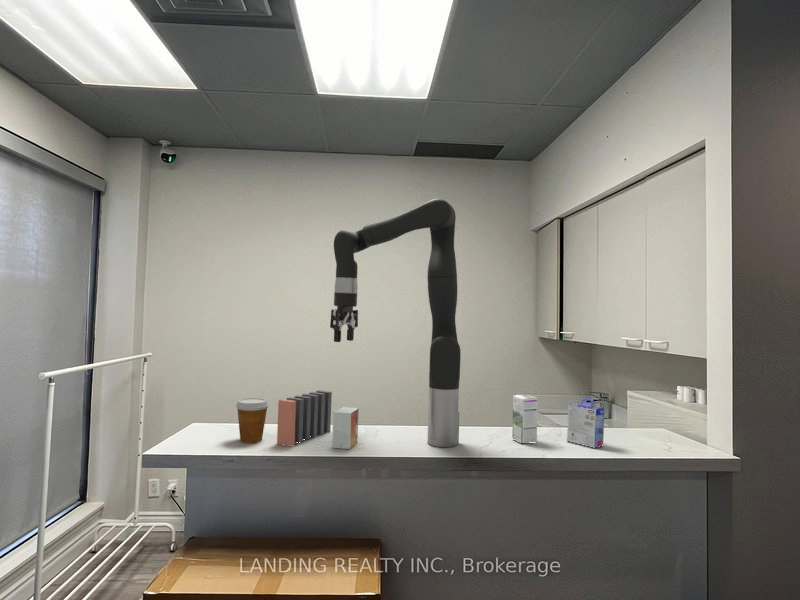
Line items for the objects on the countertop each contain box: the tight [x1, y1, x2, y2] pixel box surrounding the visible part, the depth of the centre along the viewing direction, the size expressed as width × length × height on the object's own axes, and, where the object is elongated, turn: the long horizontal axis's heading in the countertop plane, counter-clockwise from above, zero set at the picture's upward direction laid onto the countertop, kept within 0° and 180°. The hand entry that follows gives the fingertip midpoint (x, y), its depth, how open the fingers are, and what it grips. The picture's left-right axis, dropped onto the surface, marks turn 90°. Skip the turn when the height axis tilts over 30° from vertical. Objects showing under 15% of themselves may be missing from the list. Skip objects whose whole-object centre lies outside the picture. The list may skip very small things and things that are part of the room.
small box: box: [331, 406, 360, 450], centre depth 146 cm, size 8×6×10 cm
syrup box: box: [512, 394, 538, 444], centre depth 157 cm, size 6×6×14 cm
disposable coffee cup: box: [235, 397, 270, 444], centre depth 148 cm, size 10×10×12 cm
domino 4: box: [301, 393, 318, 438], centre depth 155 cm, size 2×5×13 cm, turn 65°
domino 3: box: [293, 394, 311, 441], centre depth 152 cm, size 2×5×13 cm, turn 65°
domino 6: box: [315, 389, 333, 433], centre depth 162 cm, size 2×5×13 cm, turn 65°
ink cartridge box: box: [566, 397, 605, 448], centre depth 156 cm, size 10×6×14 cm, turn 39°
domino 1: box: [276, 398, 296, 447], centre depth 145 cm, size 2×5×13 cm, turn 65°
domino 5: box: [308, 391, 325, 436], centre depth 159 cm, size 2×5×13 cm, turn 65°
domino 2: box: [286, 396, 304, 444], centre depth 148 cm, size 2×5×13 cm, turn 65°
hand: (343, 341), depth 162 cm, fingers open, 8 cm apart
